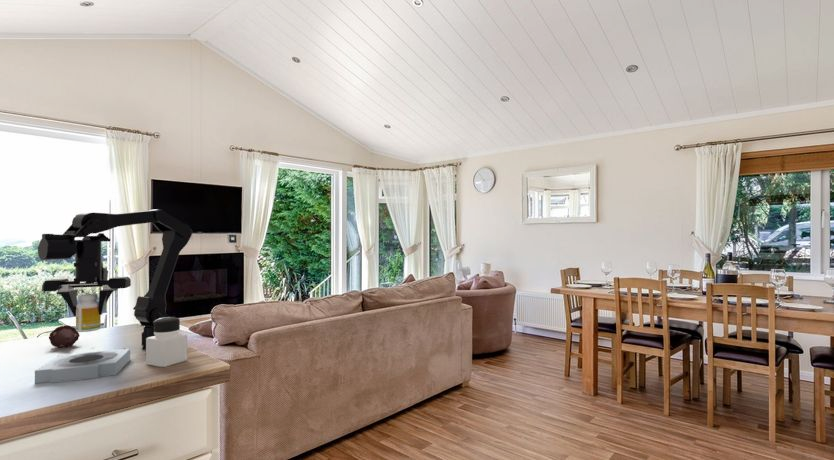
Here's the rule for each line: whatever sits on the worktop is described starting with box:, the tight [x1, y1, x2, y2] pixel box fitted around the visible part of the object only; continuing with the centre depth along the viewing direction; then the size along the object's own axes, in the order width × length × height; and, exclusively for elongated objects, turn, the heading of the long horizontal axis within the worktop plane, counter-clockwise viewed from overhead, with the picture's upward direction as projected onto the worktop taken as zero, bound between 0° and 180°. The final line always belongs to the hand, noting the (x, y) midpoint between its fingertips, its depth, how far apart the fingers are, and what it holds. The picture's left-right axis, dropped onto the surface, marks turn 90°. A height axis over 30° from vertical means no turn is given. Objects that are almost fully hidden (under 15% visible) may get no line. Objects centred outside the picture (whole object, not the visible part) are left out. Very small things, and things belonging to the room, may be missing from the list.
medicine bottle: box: [145, 316, 188, 368], centre depth 117 cm, size 7×7×12 cm
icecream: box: [48, 324, 81, 349], centre depth 134 cm, size 7×7×15 cm
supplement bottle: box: [75, 293, 102, 333], centre depth 119 cm, size 5×5×10 cm
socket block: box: [34, 348, 131, 384], centre depth 110 cm, size 16×16×3 cm
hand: (88, 315), depth 119 cm, fingers closed on supplement bottle, 5 cm apart
